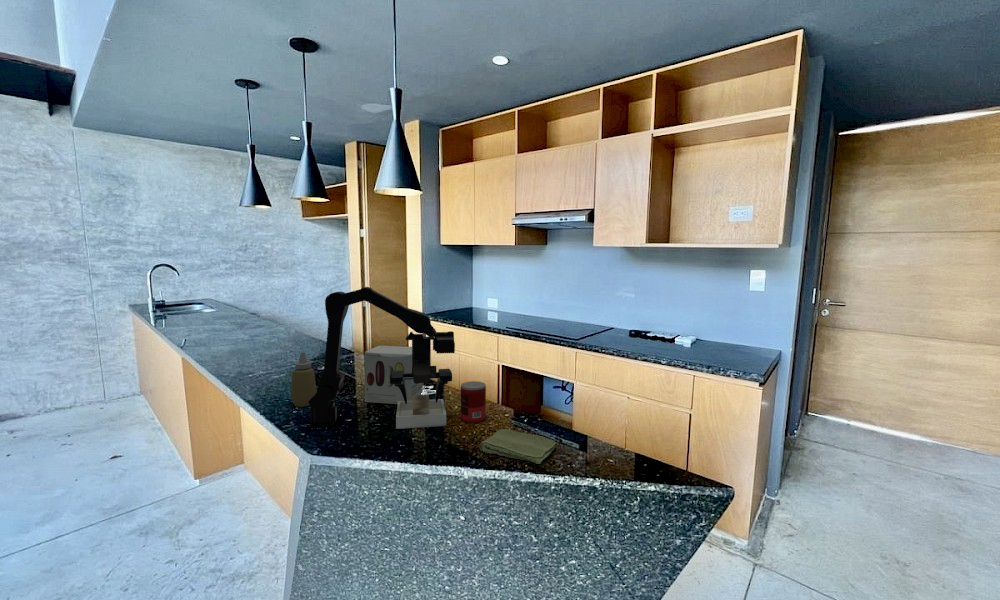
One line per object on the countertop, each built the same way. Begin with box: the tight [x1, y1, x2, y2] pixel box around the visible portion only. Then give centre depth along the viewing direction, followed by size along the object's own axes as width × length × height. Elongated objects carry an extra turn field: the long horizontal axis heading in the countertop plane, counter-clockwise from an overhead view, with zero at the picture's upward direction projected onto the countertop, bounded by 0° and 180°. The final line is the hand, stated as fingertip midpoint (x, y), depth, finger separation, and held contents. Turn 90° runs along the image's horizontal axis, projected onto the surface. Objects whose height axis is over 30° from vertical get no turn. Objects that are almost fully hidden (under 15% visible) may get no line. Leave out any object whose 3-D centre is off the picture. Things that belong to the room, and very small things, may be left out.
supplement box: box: [364, 345, 424, 405], centre depth 147 cm, size 17×13×18 cm
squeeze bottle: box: [290, 351, 317, 408], centre depth 139 cm, size 8×8×18 cm
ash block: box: [413, 394, 430, 415], centre depth 128 cm, size 5×5×6 cm
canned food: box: [460, 380, 487, 424], centre depth 128 cm, size 8×8×11 cm
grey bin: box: [395, 398, 447, 430], centre depth 128 cm, size 15×15×4 cm
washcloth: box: [479, 428, 558, 465], centre depth 107 cm, size 13×18×3 cm
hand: (421, 403), depth 128 cm, fingers open, 9 cm apart
